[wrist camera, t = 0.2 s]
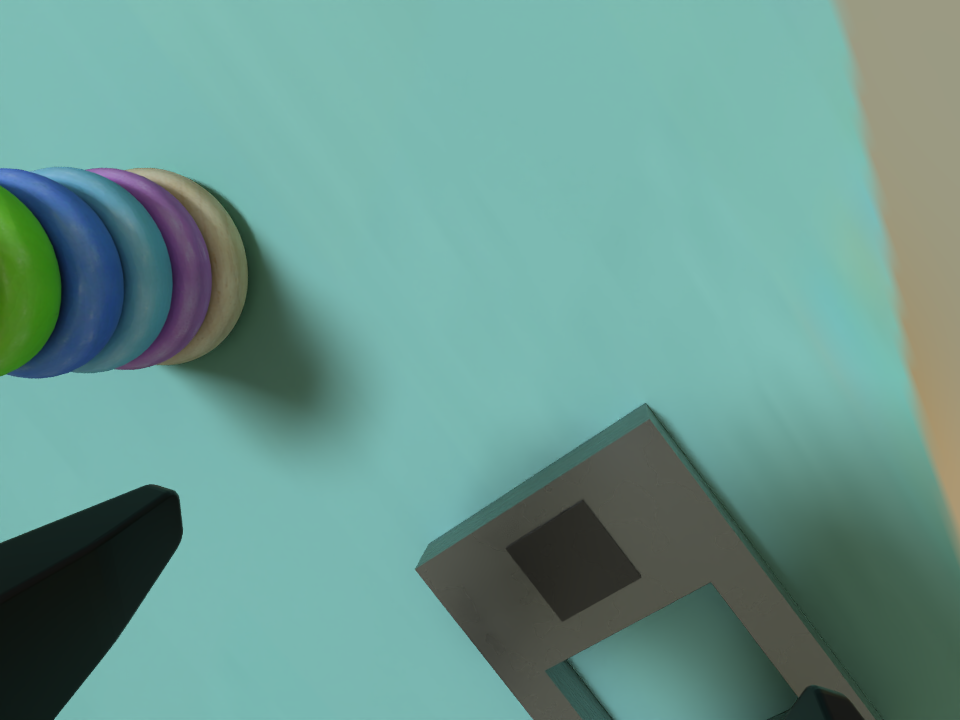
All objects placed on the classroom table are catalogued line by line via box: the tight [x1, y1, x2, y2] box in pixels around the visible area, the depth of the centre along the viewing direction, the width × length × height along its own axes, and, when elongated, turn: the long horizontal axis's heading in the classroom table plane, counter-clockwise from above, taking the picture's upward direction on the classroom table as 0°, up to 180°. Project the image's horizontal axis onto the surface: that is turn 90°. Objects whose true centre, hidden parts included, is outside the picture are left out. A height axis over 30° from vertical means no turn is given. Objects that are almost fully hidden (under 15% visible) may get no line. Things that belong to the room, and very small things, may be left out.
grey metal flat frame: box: [415, 403, 883, 720], centre depth 24 cm, size 11×16×2 cm
